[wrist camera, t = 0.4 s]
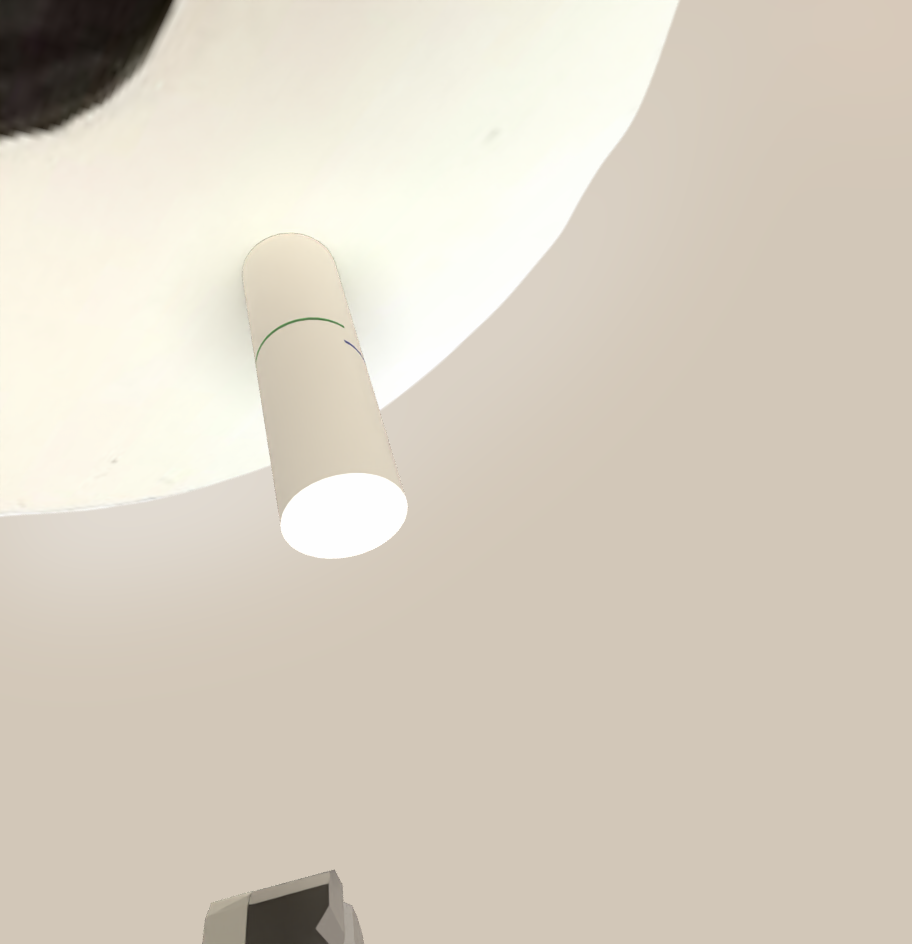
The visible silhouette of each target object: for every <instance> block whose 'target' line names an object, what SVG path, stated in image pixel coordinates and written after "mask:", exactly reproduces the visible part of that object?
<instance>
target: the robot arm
mask: <svg viewBox="0 0 912 944" xmlns="http://www.w3.org/2000/svg"><path fill="white" fill-rule="evenodd" d="M202 944H364V942H363V936H362V932H361V928H360V925H359V922H358V918H357V916H356V913H355V911H354V909H353V907H352V905H350V904H347V903H345V902H343V887H342V883H341V881H340V879H339V877H338V876H337V873H336V872H335V870H331V871H327V872H323V873H320V874H316V875H312V876H309V877H305V878H301V879H298V880H294V881H290V882H286V883H283V884H279V885H275V886H271V887H268V888H264V889H260V890H257V891H251V892H247V893H244V894H240V895H237V896H233V897H230V898H227V899H223V900H220V901H216V902H213V903H211V905H210V908H209V910H208V913H207V916H206V918H205V925H204V934H203V943H202Z"/></svg>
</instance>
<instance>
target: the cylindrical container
mask: <svg viewBox="0 0 912 944" xmlns="http://www.w3.org/2000/svg"><path fill="white" fill-rule="evenodd" d="M242 278H243V285H244V292H245V298H246V305H247V312H248V318H249V325H250V331H251V338H252V345H253V351H254V358H255V364H256V371H257V377H258V384H259V390H260V397H261V403H262V410H263V416H264V422H265V429H266V435H267V442H268V448H269V455H270V461H271V467H272V474H273V480H274V487H275V493H276V500H277V506H278V512H279V518H280V525H281V532H282V534H283V536H284V538H285V540H286V541H287V542H288V543H289V544H290V546H292V547H293V548H294V549H296V550H297V551H299V552H301V553H304V554H306V555H309V556H313V557H319V558H328V559H329V558H345V557H350V556H355V555H358V554H362V553H365V552H367V551H370V550H372V549H374V548H376V547H378V546H380V545H381V544H383V543H385V542H386V541H387V540H388V539H390V538H391V537H392V536H393V535H394V534H395V533H396V532H397V531H398V530H399V529H400V527H401V525H402V524H403V522H404V520H405V517H406V514H407V501H406V497H405V494H404V490H403V487H402V484H401V480H400V477H399V474H398V470H397V467H396V464H395V460H394V457H393V454H392V450H391V447H390V444H389V440H388V437H387V434H386V431H385V427H384V424H383V421H382V417H381V414H380V410H379V407H378V404H377V401H376V397H375V394H374V391H373V387H372V384H371V381H370V378H369V374H368V371H367V368H366V364H365V361H364V358H363V355H362V351H361V348H360V344H359V341H358V338H357V334H356V331H355V328H354V324H353V321H352V318H351V314H350V311H349V308H348V304H347V301H346V298H345V295H344V291H343V288H342V285H341V281H340V278H339V275H338V272H337V268H336V265H335V262H334V259H333V257H332V255H331V253H330V252H329V251H328V250H327V248H326V247H325V246H324V245H322V244H321V243H320V242H319V241H317V240H315V239H313V238H311V237H308V236H305V235H302V234H295V233H286V234H279V235H275V236H271V237H269V238H267V239H265V240H263V241H262V242H260V243H259V244H257V245H256V246H255V247H254V248H253V249H252V250H251V251H250V253H249V254H248V256H247V258H246V260H245V262H244V265H243V271H242Z"/></svg>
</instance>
